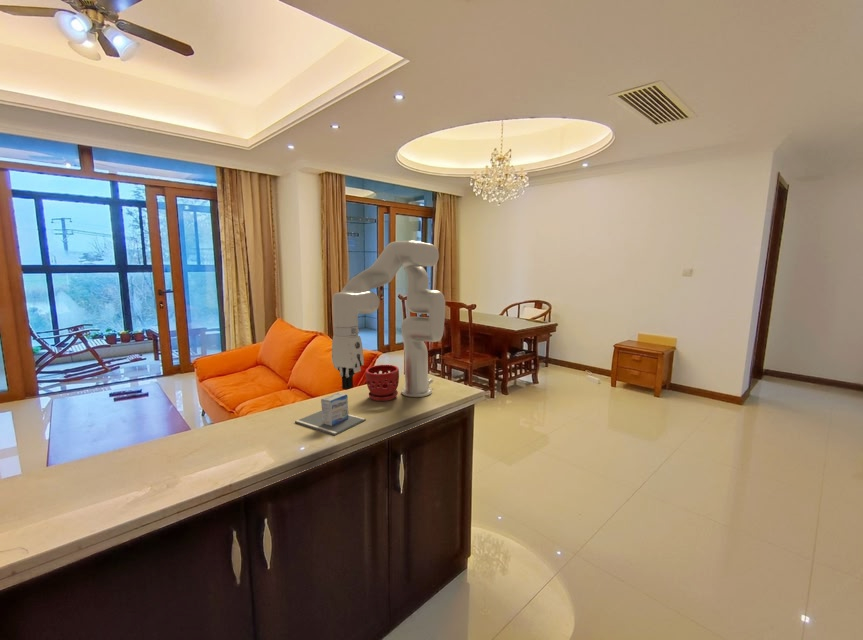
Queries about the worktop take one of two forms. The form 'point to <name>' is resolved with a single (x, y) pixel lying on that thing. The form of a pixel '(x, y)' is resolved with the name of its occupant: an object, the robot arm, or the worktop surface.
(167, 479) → the worktop surface
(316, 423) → the mat
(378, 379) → the plant pot
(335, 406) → the medicine box
